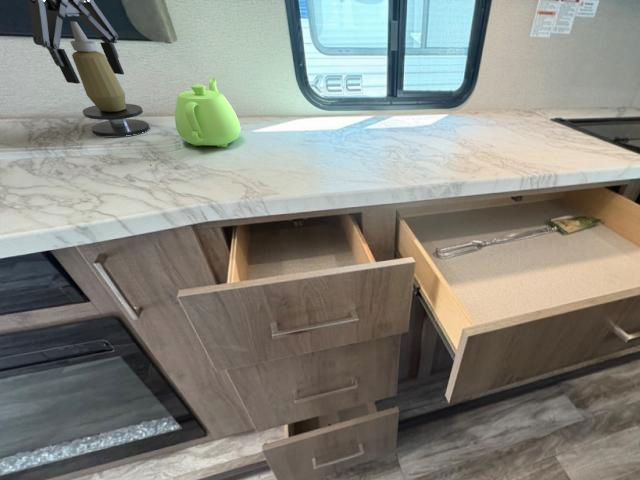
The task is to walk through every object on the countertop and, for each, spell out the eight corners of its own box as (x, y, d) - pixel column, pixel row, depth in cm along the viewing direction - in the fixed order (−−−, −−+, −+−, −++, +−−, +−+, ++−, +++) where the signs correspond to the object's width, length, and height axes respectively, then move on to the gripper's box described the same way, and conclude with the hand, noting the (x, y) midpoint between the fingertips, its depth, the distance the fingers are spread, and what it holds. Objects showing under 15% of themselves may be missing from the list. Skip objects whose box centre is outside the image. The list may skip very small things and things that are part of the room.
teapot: (200, 126, 99) (184, 73, 90) (253, 129, 100) (242, 77, 92) (169, 152, 83) (145, 91, 74) (232, 155, 84) (216, 96, 76)
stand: (80, 133, 88) (68, 112, 84) (118, 120, 97) (109, 101, 94) (126, 140, 87) (116, 118, 83) (160, 126, 96) (152, 106, 93)
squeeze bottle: (136, 111, 89) (100, 24, 77) (100, 115, 84) (55, 23, 72) (124, 104, 93) (88, 20, 80) (90, 107, 88) (46, 19, 76)
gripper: (-3, -47, 60) (66, 89, 74) (108, -36, 78) (147, 72, 93) (-41, -52, 60) (36, 84, 75) (79, -39, 79) (121, 68, 93)
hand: (97, 78), depth 84 cm, fingers open, 13 cm apart
